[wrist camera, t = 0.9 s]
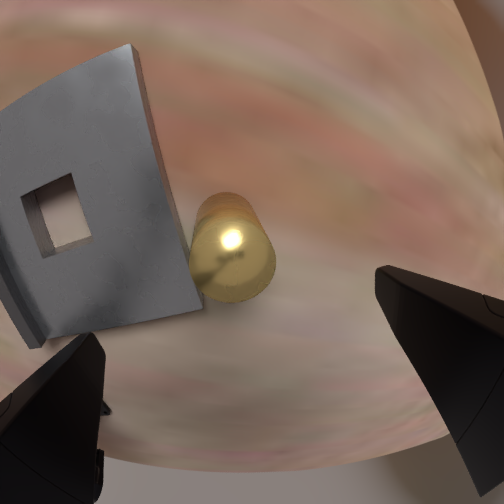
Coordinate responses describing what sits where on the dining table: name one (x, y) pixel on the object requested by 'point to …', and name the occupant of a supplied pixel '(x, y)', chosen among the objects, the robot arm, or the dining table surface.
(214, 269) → the gold rounded cylinder
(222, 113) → the dining table surface
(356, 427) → the dining table surface
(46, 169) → the jig
